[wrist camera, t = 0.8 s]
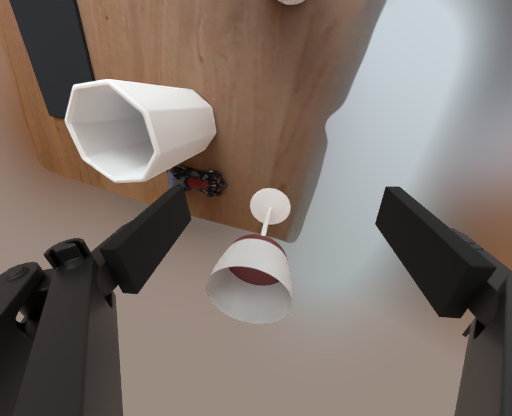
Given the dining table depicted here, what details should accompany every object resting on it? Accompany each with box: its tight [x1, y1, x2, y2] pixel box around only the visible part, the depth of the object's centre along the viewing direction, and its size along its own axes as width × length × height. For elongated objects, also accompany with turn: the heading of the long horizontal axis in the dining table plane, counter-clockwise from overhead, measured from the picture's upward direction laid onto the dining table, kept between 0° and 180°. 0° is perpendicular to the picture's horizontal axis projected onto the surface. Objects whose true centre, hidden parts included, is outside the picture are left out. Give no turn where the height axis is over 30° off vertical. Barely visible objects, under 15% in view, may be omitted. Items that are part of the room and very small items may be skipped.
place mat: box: [10, 0, 95, 118], centre depth 36 cm, size 24×12×1 cm, turn 174°
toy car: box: [166, 165, 227, 197], centre depth 42 cm, size 6×12×4 cm, turn 84°
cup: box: [65, 79, 217, 183], centre depth 30 cm, size 11×11×18 cm
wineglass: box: [206, 188, 292, 324], centre depth 33 cm, size 9×10×23 cm
